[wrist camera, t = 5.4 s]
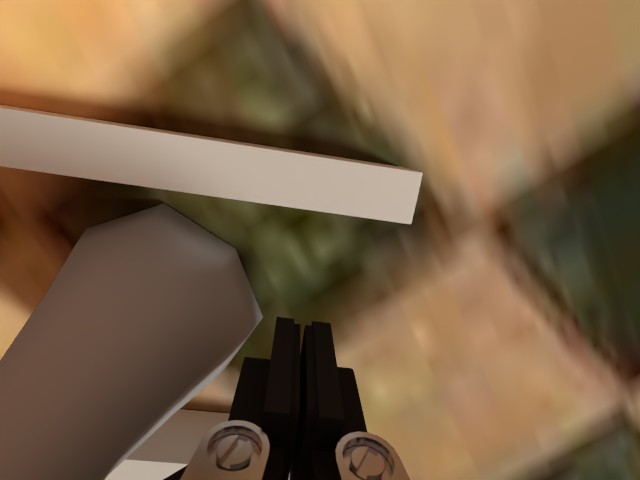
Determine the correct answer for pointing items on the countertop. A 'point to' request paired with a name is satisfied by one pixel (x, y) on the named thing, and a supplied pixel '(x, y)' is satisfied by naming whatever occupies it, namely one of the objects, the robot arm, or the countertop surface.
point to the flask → (120, 345)
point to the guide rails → (205, 179)
